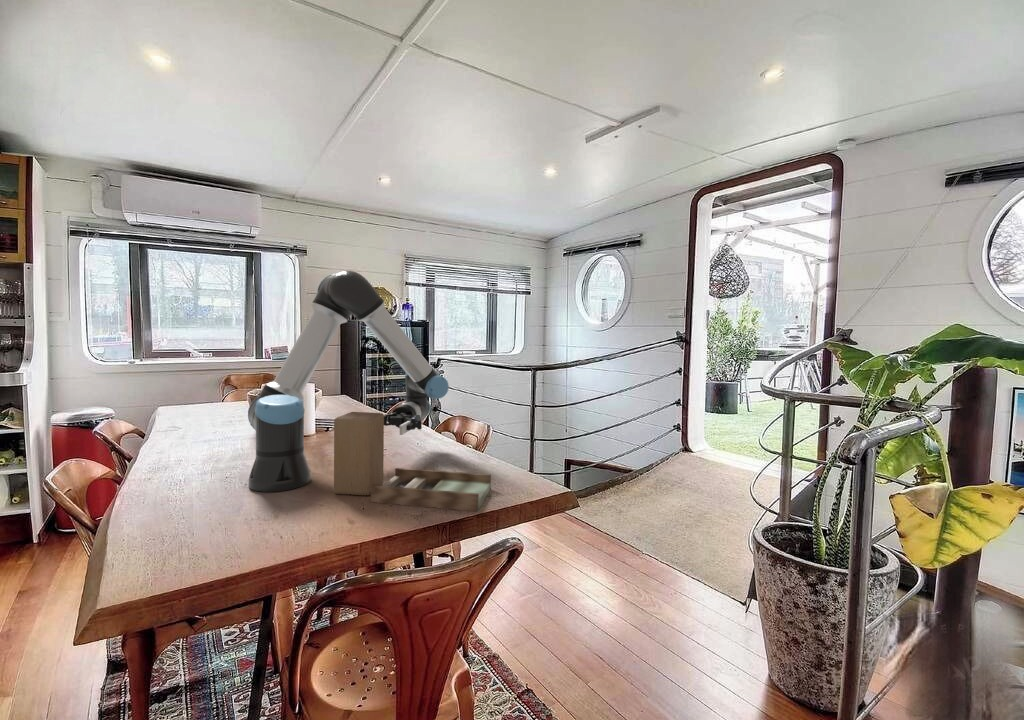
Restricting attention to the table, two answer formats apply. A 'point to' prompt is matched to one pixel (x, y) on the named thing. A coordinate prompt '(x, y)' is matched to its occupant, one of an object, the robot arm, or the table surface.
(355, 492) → the block
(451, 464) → the table surface
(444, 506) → the box
